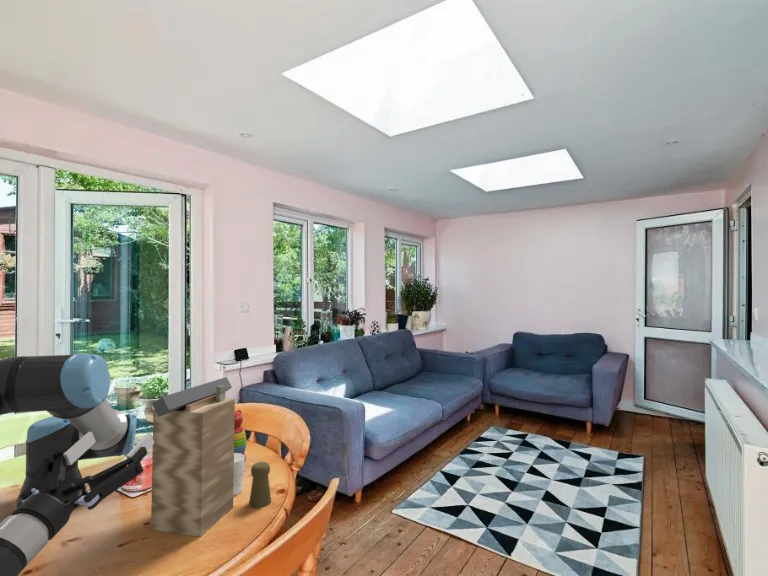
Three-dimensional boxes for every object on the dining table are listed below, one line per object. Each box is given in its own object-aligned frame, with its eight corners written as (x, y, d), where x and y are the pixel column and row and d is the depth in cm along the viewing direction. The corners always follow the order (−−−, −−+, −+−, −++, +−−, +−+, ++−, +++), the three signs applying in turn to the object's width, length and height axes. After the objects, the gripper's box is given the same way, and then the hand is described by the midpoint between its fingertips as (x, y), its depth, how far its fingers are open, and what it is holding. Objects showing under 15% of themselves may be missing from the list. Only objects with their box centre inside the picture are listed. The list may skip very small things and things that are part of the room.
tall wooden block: (151, 529, 101) (153, 393, 102) (188, 501, 115) (190, 381, 115) (200, 536, 98) (203, 396, 99) (233, 507, 112) (235, 384, 113)
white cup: (234, 499, 116) (235, 464, 116) (210, 496, 118) (210, 462, 118) (249, 486, 124) (249, 454, 124) (225, 484, 126) (226, 451, 126)
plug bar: (158, 416, 95) (152, 403, 96) (223, 393, 119) (217, 382, 119) (168, 409, 95) (162, 396, 95) (232, 387, 118) (226, 376, 118)
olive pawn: (259, 510, 110) (259, 469, 111) (244, 504, 114) (245, 464, 114) (275, 500, 116) (276, 462, 116) (261, 495, 119) (261, 457, 119)
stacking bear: (236, 453, 150) (237, 405, 151) (253, 459, 144) (254, 409, 145) (209, 462, 141) (210, 411, 142) (226, 470, 135) (227, 417, 136)
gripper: (-28, 541, 68) (74, 450, 88) (106, 548, 66) (180, 452, 85) (-47, 508, 66) (62, 422, 86) (91, 514, 63) (171, 423, 83)
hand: (121, 437), depth 85 cm, fingers open, 13 cm apart
